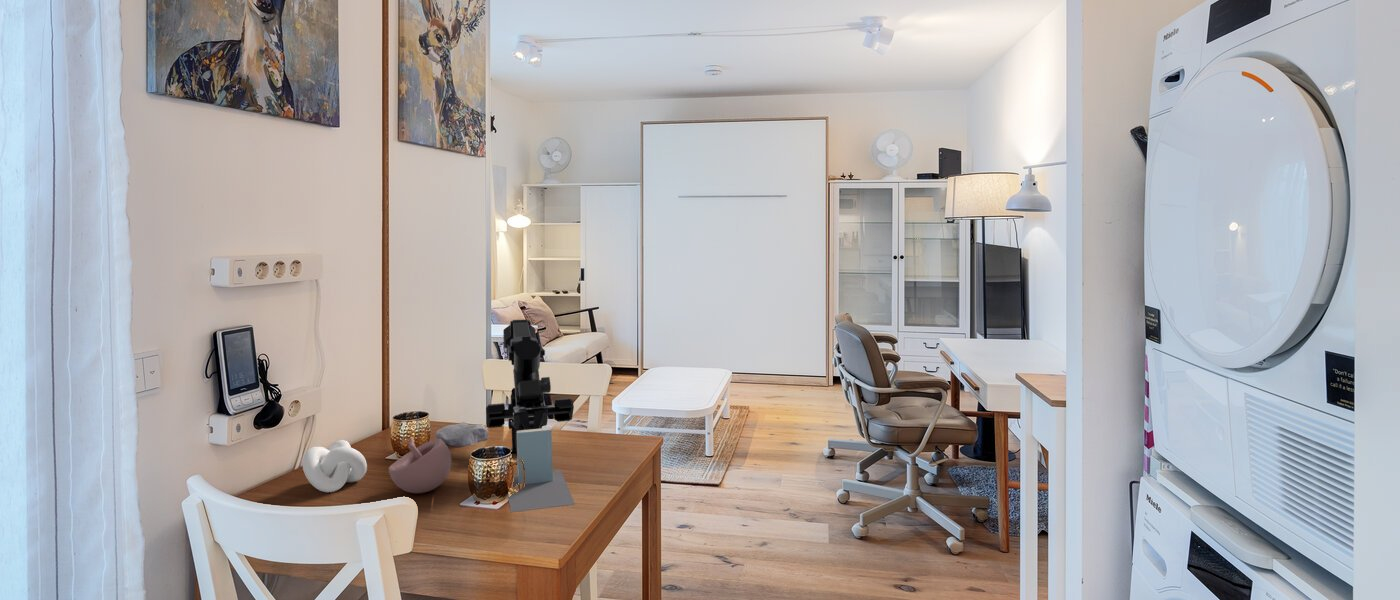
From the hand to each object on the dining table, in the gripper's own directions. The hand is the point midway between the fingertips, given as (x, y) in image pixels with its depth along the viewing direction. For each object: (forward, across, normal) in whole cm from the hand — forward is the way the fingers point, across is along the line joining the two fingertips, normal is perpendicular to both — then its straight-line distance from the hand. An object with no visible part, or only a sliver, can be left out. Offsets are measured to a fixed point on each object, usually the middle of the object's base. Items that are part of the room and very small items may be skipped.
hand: (533, 446), depth 150 cm
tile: (+7, 0, +3) cm, 7 cm away
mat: (+11, 0, 0) cm, 11 cm away
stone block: (-22, -16, +32) cm, 42 cm away
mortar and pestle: (+5, -23, +6) cm, 24 cm away
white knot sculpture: (-3, -41, +13) cm, 43 cm away
